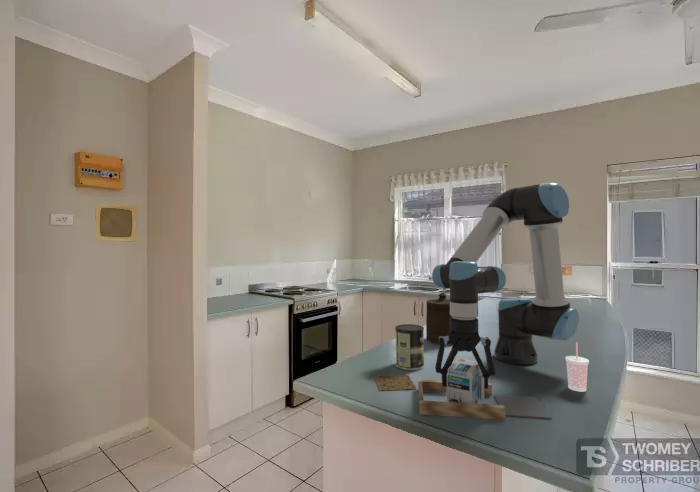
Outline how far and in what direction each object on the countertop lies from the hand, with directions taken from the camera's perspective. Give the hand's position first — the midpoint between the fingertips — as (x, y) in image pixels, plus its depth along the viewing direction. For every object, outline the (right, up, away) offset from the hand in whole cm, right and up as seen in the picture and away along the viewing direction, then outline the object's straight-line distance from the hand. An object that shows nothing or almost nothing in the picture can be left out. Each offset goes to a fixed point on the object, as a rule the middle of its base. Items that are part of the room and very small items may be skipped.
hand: (464, 398), depth 97 cm
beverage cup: (+37, -1, +9) cm, 38 cm away
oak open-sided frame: (-2, -1, 0) cm, 2 cm away
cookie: (-18, -2, +15) cm, 23 cm away
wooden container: (+11, -1, +63) cm, 64 cm away
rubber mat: (+14, -1, -2) cm, 15 cm away
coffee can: (-10, -2, +31) cm, 33 cm away
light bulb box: (0, -2, 0) cm, 2 cm away
